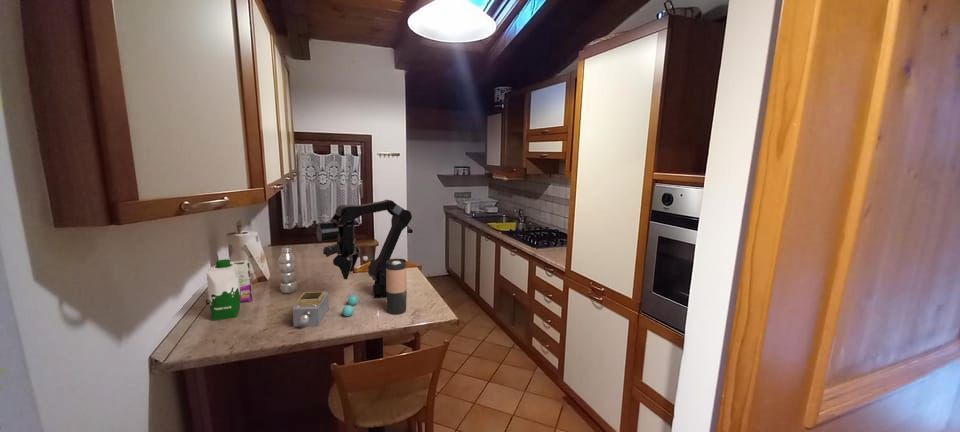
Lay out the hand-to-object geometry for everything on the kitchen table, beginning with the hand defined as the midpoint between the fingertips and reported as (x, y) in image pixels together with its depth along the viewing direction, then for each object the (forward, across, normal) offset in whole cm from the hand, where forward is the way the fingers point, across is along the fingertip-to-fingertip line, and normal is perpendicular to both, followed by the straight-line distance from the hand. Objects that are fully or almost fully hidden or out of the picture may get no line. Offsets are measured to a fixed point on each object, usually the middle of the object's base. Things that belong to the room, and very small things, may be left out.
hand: (348, 275), depth 134 cm
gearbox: (+12, +13, -11) cm, 20 cm away
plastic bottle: (+12, -15, -29) cm, 34 cm away
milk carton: (+12, +7, -42) cm, 44 cm away
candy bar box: (+12, -6, -45) cm, 47 cm away
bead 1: (+10, +11, +2) cm, 15 cm away
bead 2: (+10, +1, +2) cm, 10 cm away
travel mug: (+12, +8, +19) cm, 24 cm away
